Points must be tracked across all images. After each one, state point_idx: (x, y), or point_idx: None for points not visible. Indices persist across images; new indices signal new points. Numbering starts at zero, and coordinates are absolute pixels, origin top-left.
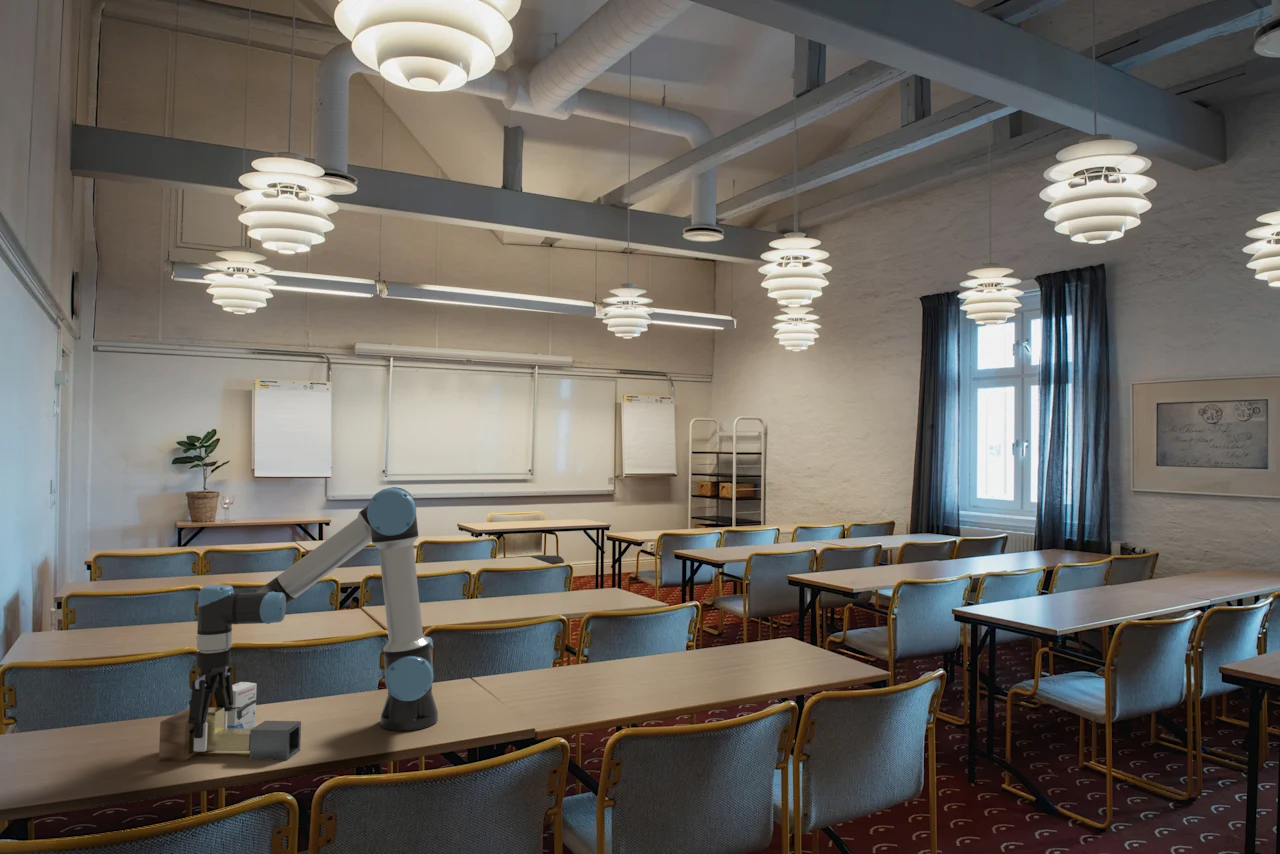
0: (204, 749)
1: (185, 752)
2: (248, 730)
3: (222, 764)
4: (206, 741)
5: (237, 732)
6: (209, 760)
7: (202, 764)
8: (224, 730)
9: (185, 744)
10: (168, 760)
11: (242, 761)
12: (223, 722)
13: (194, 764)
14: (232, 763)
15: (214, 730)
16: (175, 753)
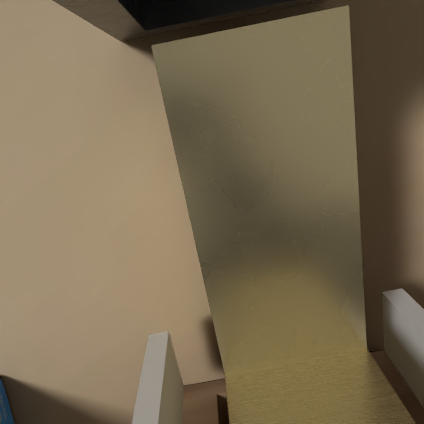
0: (408, 298)
1: (389, 382)
2: (232, 114)
3: (416, 126)
4: (422, 328)
5: (311, 184)
6: None
7: (420, 236)
8: (277, 332)
9: (418, 422)
10: None
11: (356, 31)
12: (238, 418)
13: (421, 274)
14: (396, 74)
15: (380, 370)
16: None
